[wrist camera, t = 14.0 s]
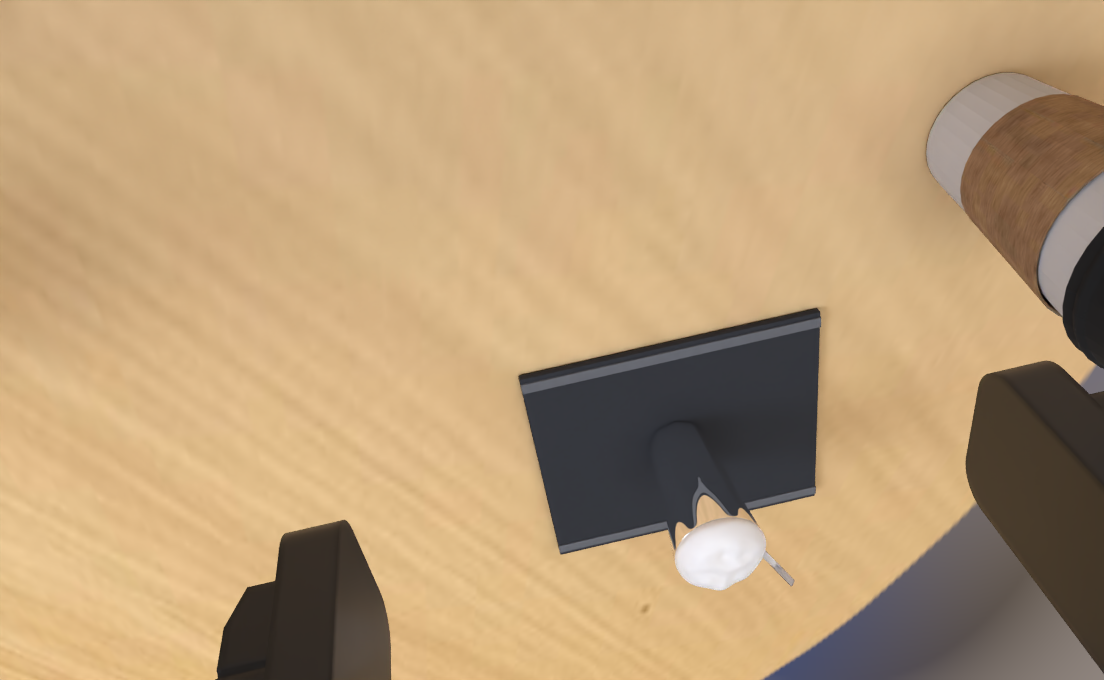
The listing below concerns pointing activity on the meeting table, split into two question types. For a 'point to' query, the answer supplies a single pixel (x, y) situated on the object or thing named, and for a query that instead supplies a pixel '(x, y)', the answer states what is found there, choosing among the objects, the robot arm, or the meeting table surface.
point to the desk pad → (676, 396)
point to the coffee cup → (1032, 189)
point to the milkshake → (705, 511)
